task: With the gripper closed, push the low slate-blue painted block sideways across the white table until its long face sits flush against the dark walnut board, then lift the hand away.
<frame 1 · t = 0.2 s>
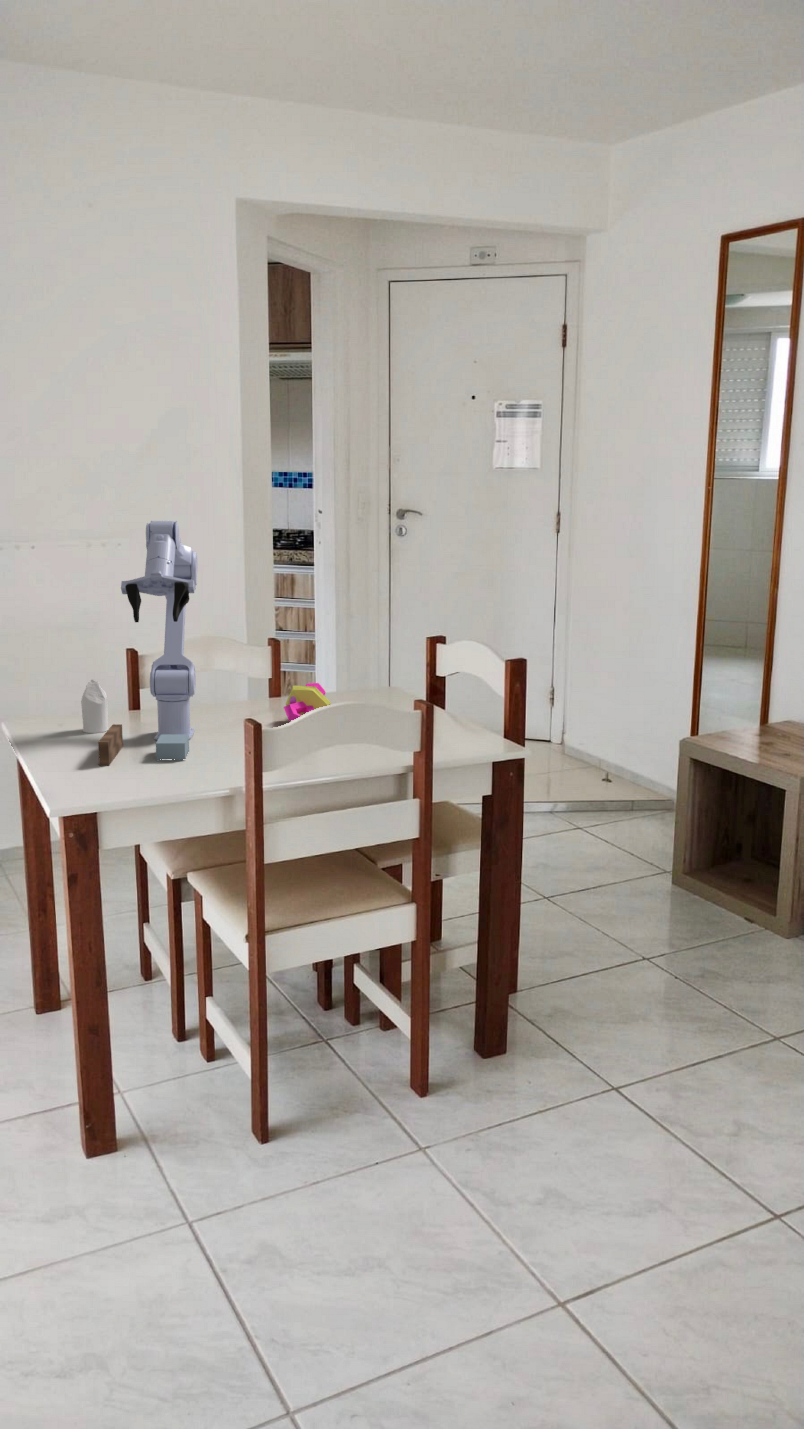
hand: (155, 618, 224), 31 cm above the table, tool tilted 45°, fingers open, 7 cm apart
toy: (307, 722, 274), on the table
walnut board: (111, 755, 240), on the table
crumpled white cylinder: (95, 731, 262), on the table
slate block: (173, 756, 241), on the table
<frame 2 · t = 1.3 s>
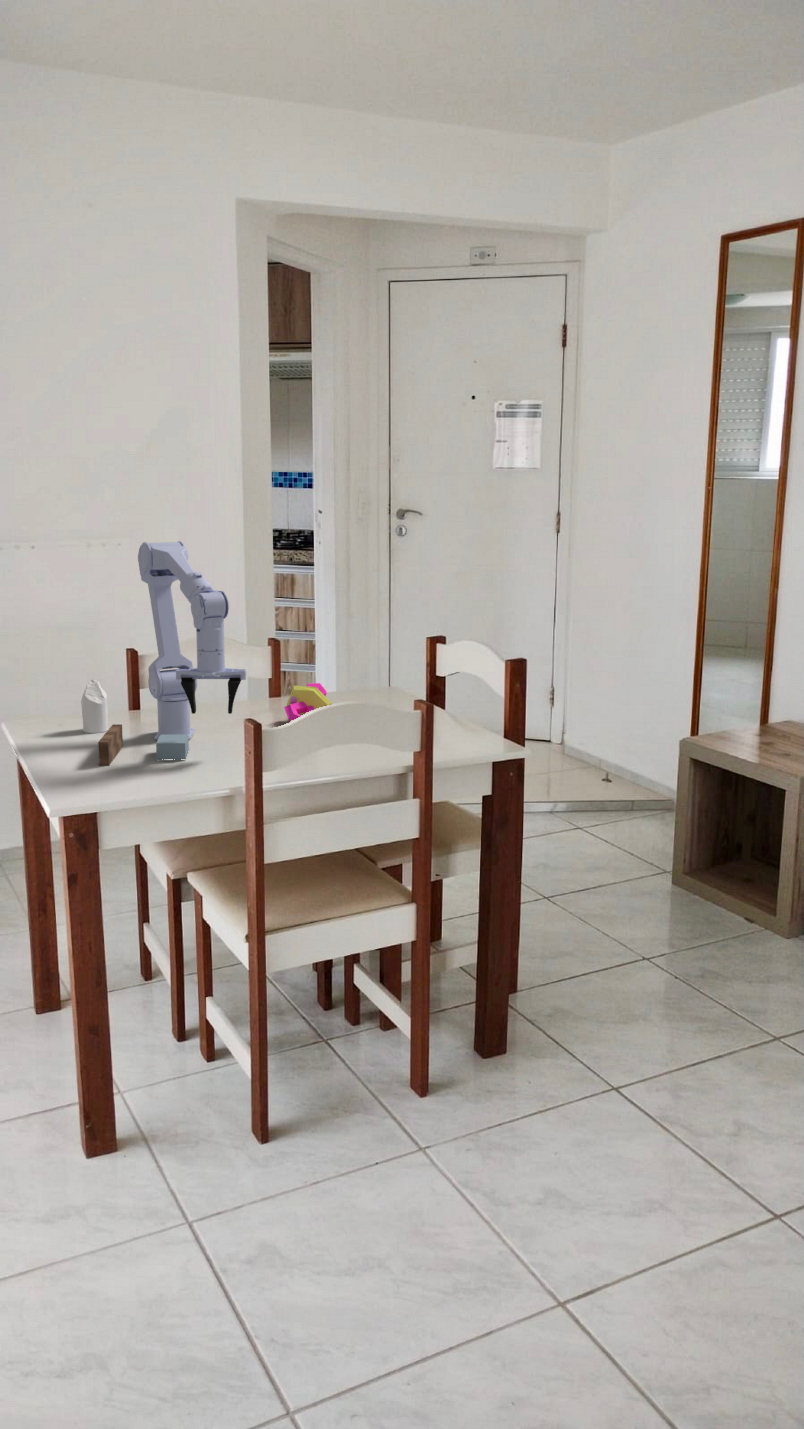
hand: (212, 712, 239), 9 cm above the table, tool pointing down, fingers open, 7 cm apart
nothing on the table moved.
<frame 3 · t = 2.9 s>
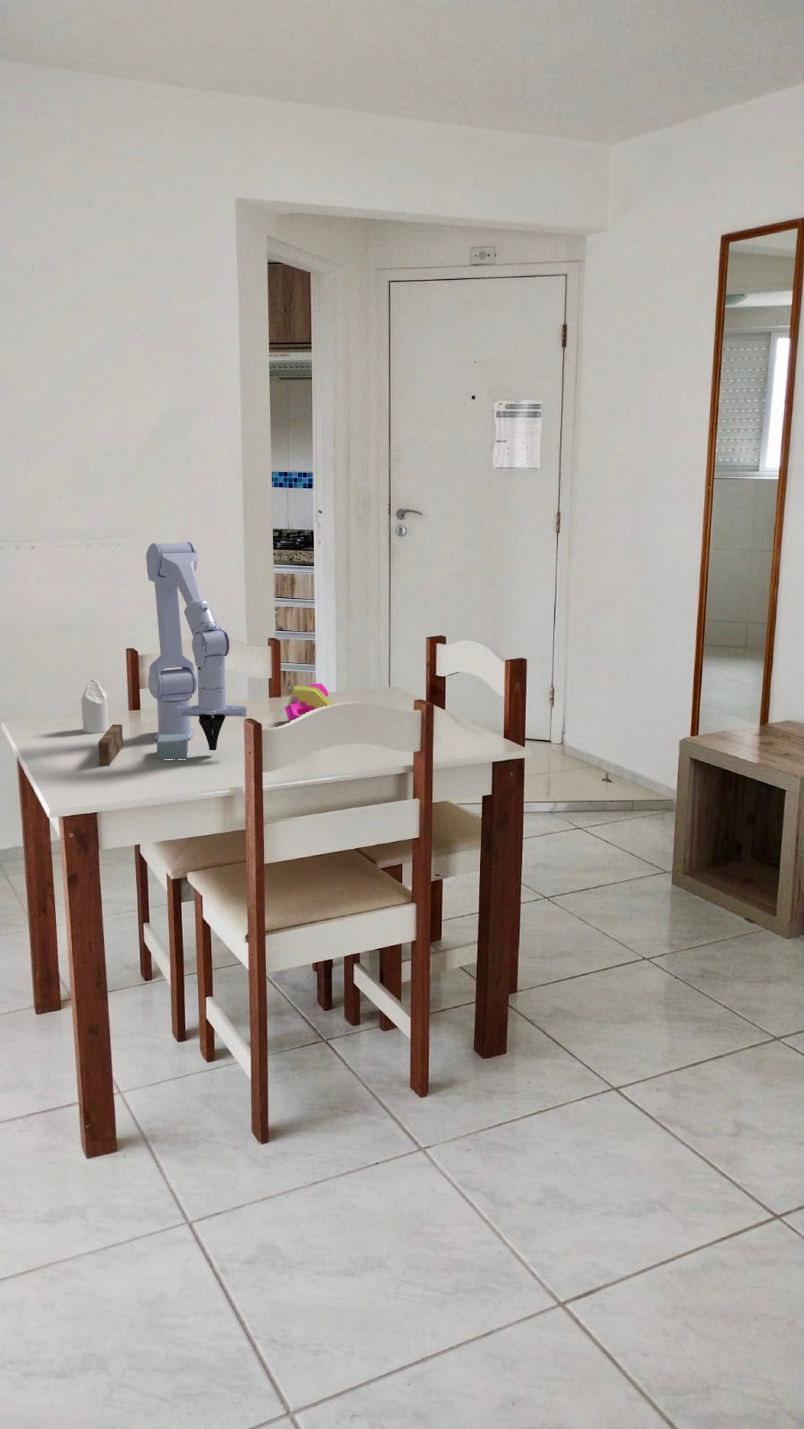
hand: (212, 749, 241), 1 cm above the table, tool pointing down, fingers closed
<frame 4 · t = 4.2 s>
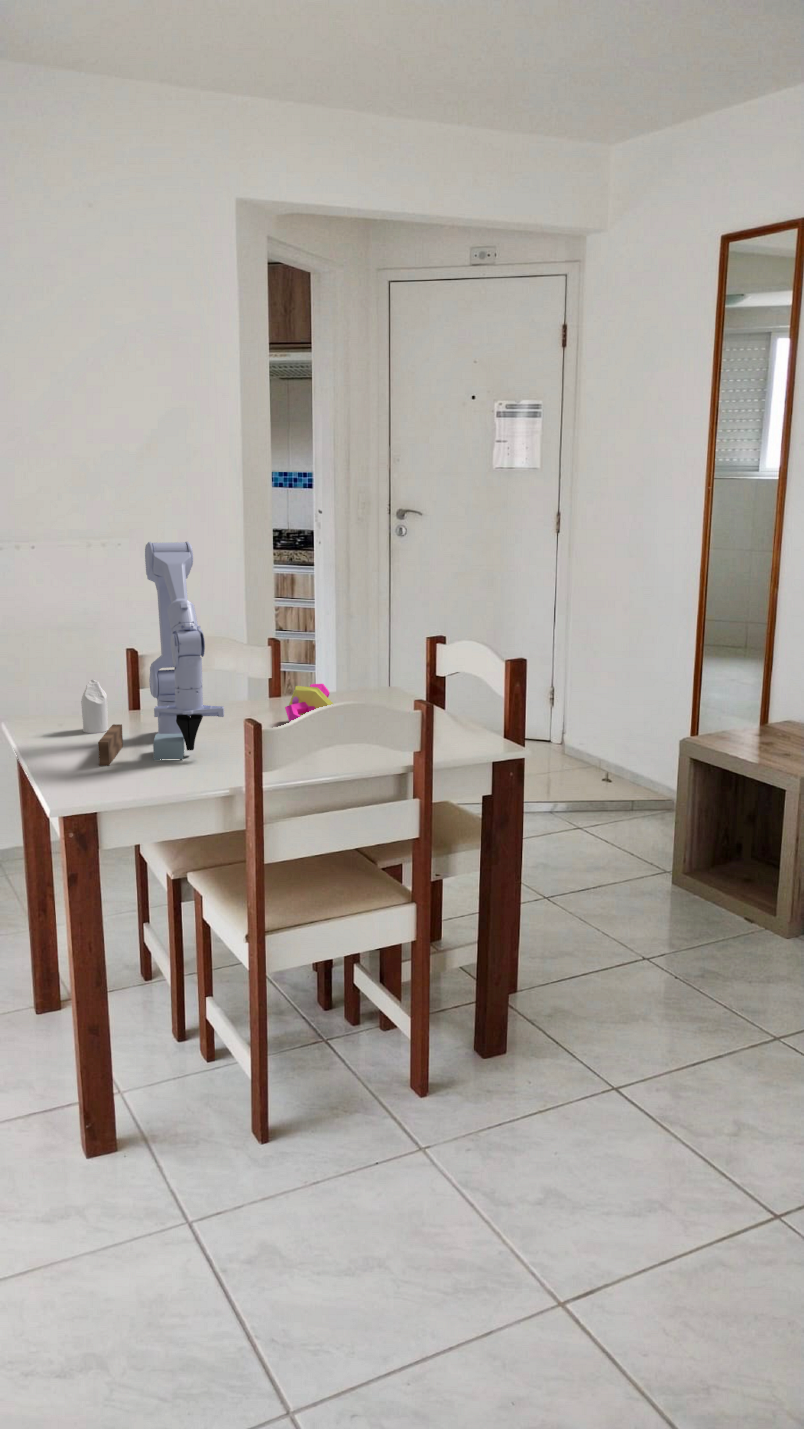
hand: (190, 749, 241), 1 cm above the table, tool pointing down, fingers closed
slate block: (169, 756, 241), on the table, touching gripper
everything else where it was.
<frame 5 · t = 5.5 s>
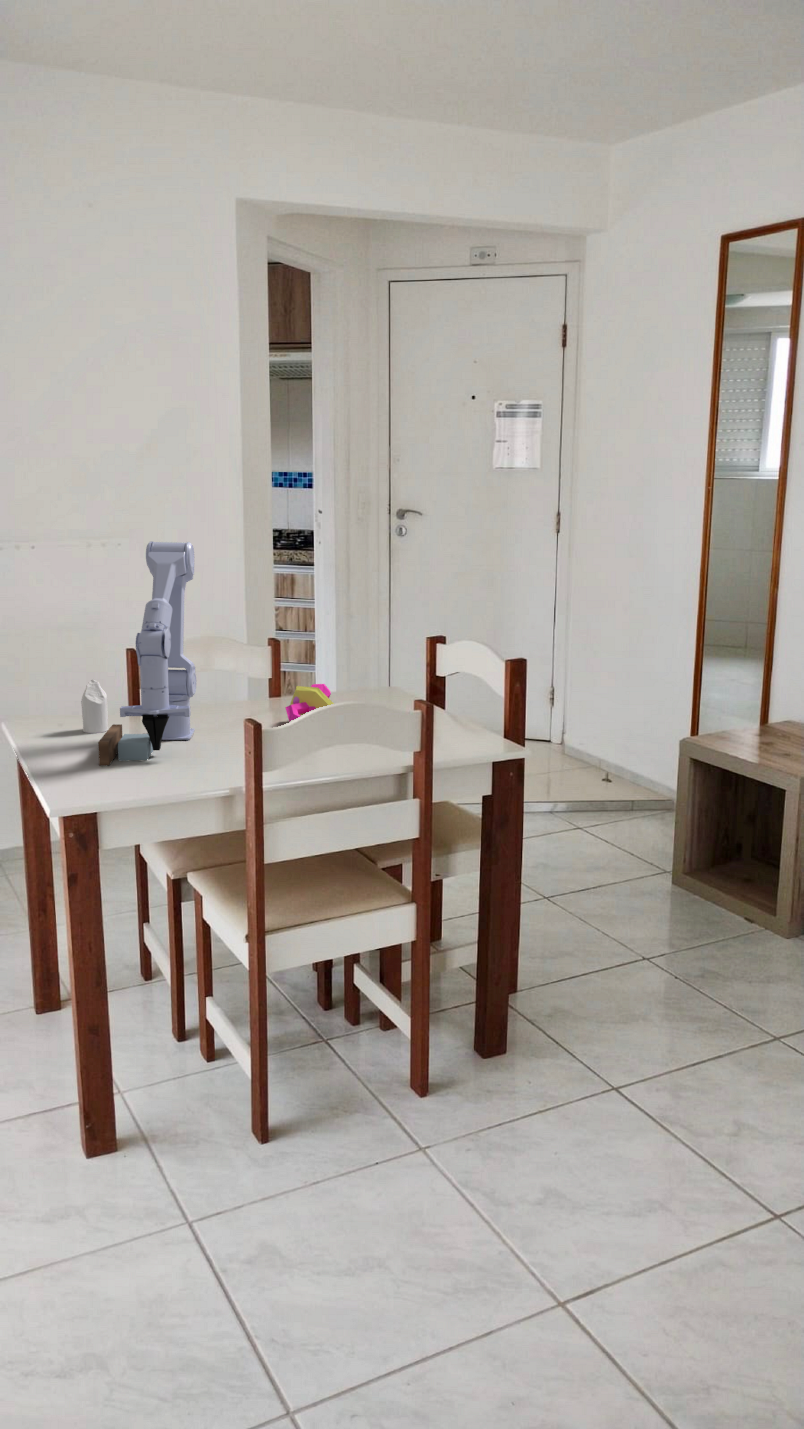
hand: (156, 749, 240), 1 cm above the table, tool pointing down, fingers closed
slate block: (136, 756, 240), on the table
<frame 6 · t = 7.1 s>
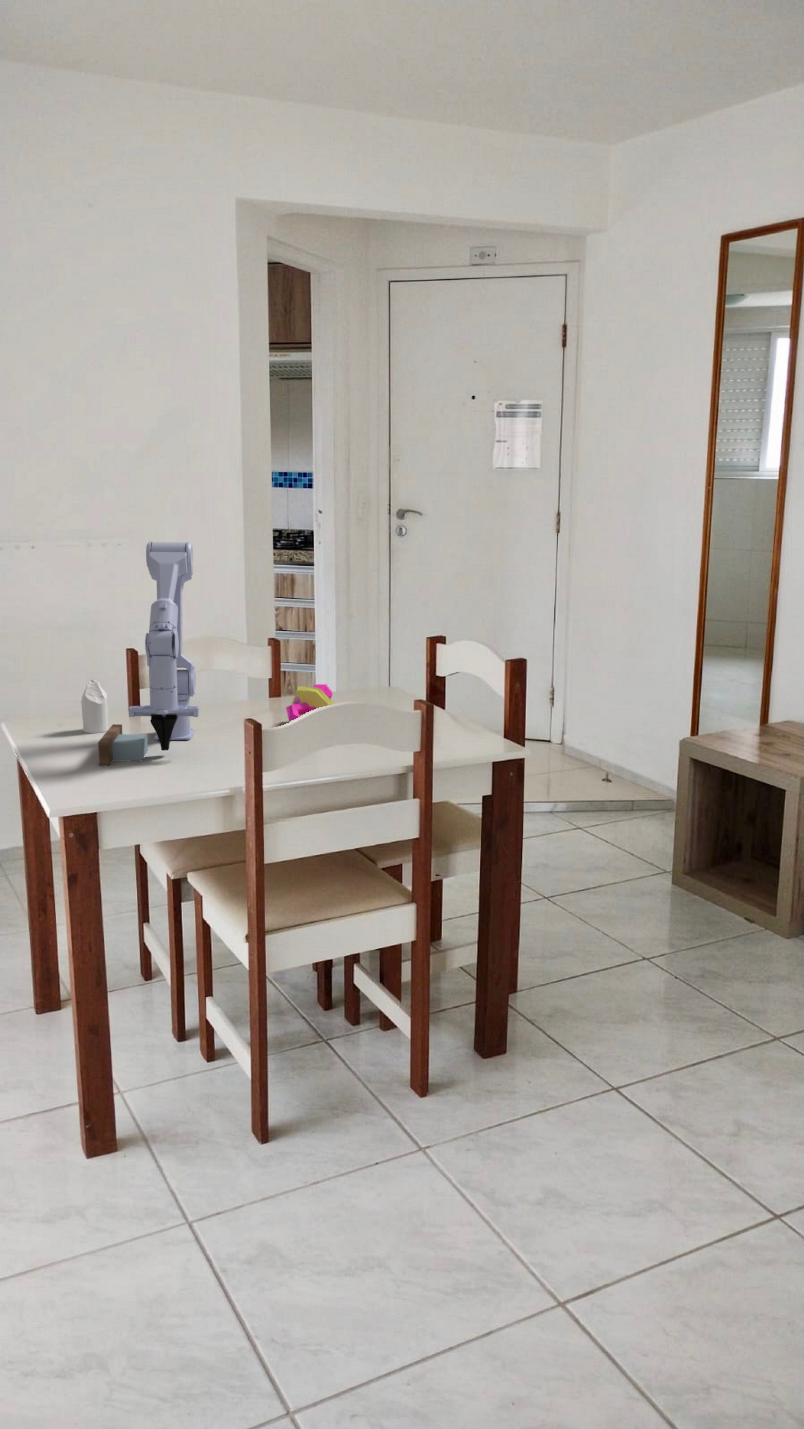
hand: (165, 749, 240), 1 cm above the table, tool pointing down, fingers closed
slate block: (130, 757, 240), on the table
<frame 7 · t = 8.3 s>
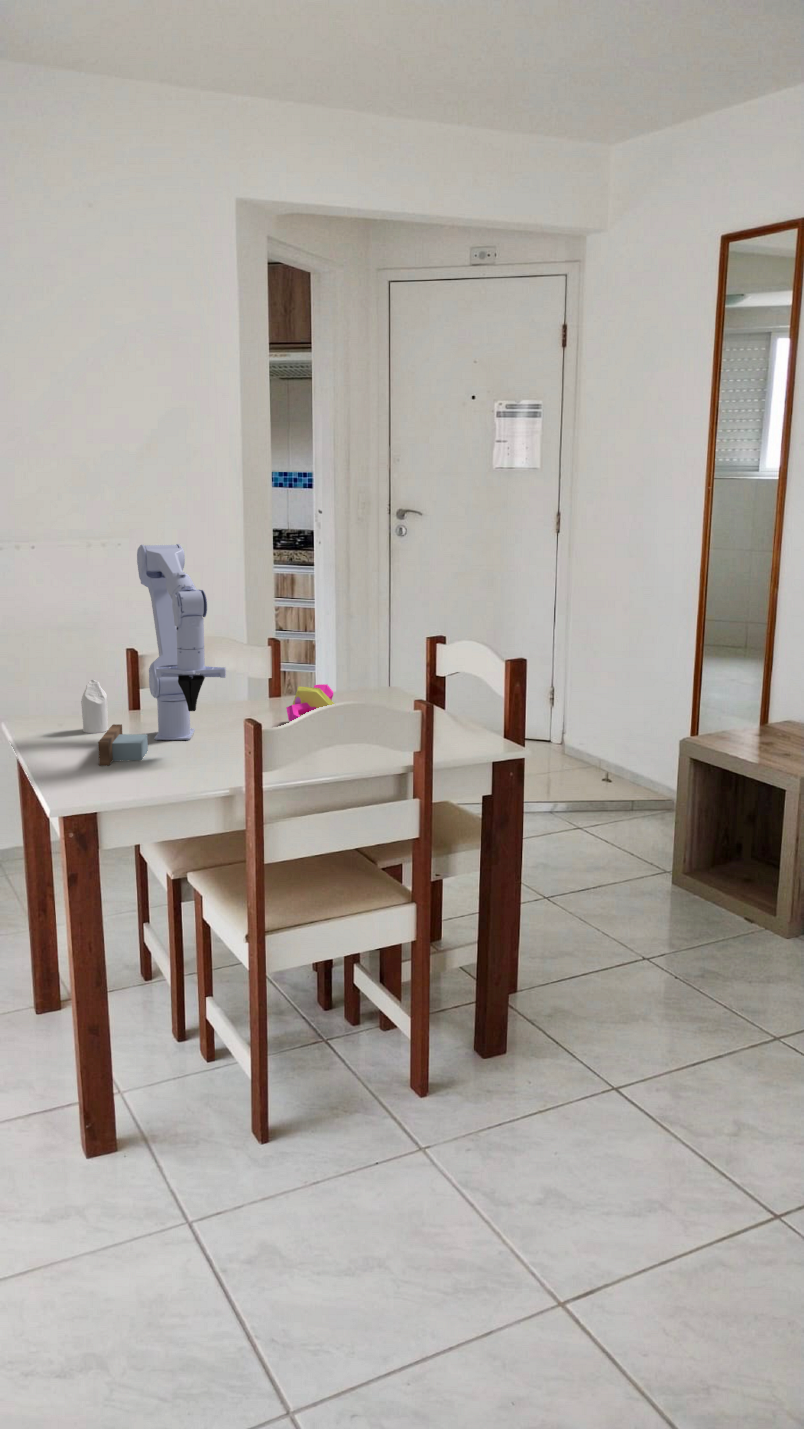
hand: (192, 710, 241), 9 cm above the table, tool pointing down, fingers closed
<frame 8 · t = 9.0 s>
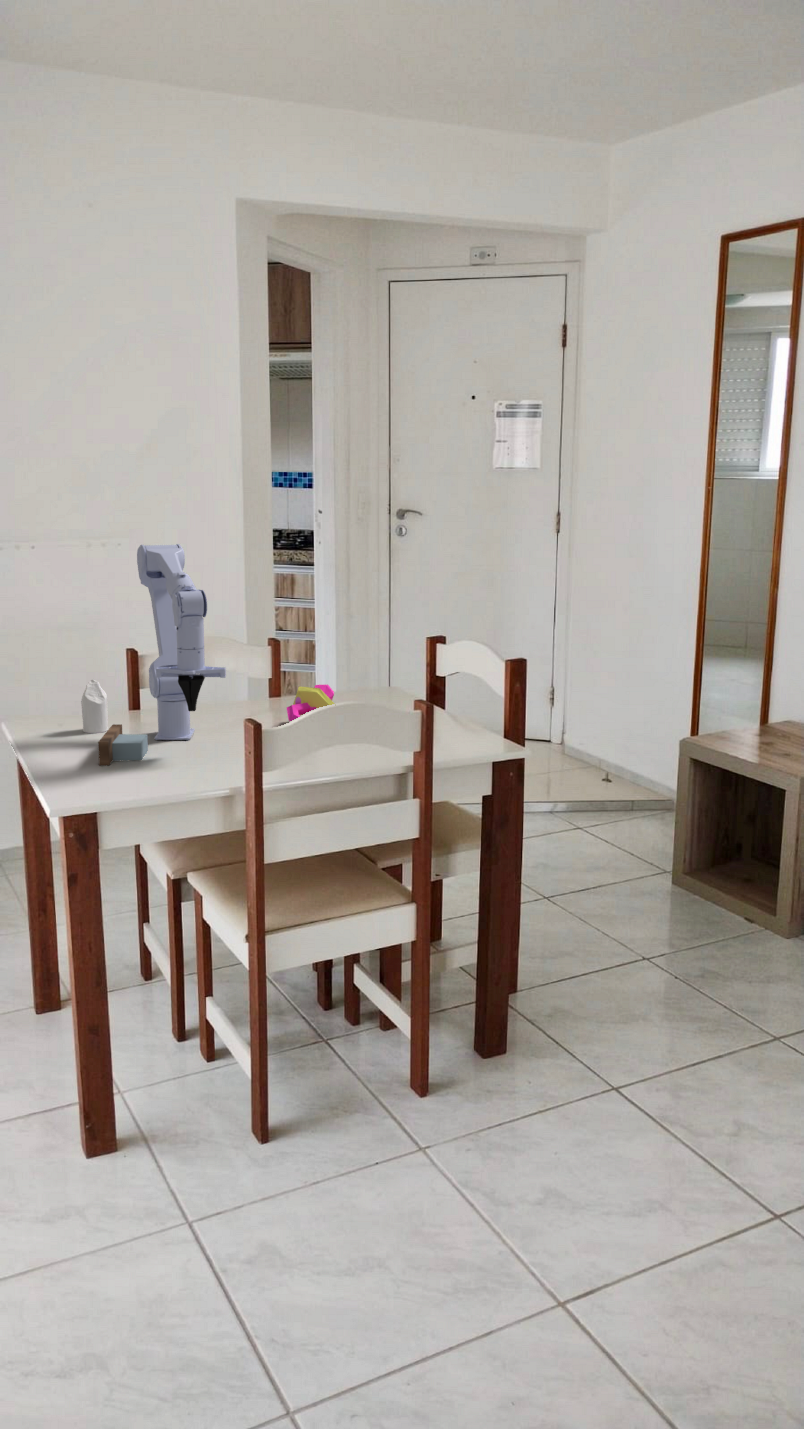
hand: (192, 710, 241), 9 cm above the table, tool pointing down, fingers closed
at the end: slate block 0.5 cm from the target spot on the table beside the walnut board, on the table; slate block tilted 0°; slate block moved 9.0 cm from its start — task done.
